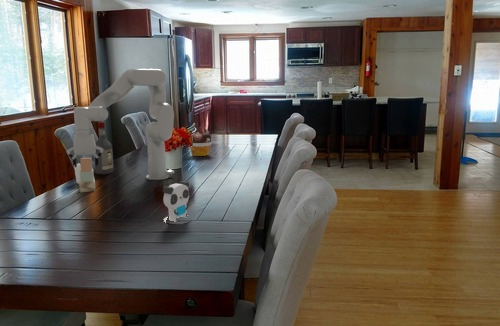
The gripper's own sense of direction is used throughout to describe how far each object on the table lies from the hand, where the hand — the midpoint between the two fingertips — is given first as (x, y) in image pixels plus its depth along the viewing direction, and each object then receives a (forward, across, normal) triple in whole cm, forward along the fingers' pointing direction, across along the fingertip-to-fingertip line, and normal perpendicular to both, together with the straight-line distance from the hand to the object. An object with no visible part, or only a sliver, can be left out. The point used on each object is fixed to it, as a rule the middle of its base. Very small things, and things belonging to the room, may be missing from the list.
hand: (86, 166), depth 210 cm
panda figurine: (+12, -37, +59) cm, 71 cm away
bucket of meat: (+12, -72, -77) cm, 106 cm away
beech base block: (+12, 0, 0) cm, 12 cm away
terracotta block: (+2, 0, 0) cm, 2 cm away
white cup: (+12, +3, -16) cm, 20 cm away
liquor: (+12, -7, -38) cm, 41 cm away
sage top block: (+7, 0, 0) cm, 7 cm away
